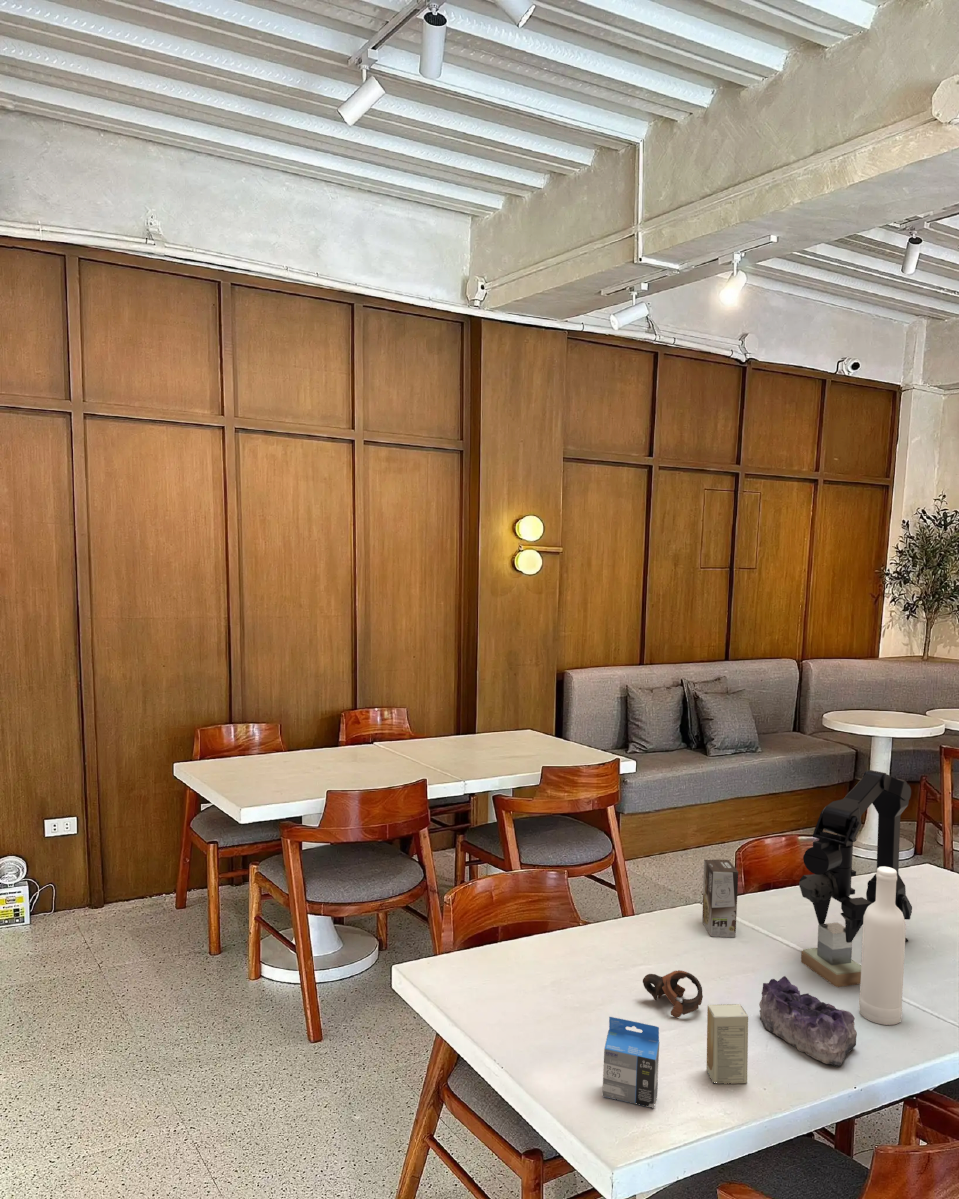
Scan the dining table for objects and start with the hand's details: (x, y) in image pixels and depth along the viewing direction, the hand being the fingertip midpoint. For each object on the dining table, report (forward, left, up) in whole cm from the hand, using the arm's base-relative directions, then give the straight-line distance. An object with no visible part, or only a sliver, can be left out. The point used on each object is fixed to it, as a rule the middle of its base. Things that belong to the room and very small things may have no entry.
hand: (834, 933), depth 196 cm
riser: (0, 0, -9) cm, 9 cm away
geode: (+24, +22, -9) cm, 33 cm away
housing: (0, 0, -6) cm, 6 cm away
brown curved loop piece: (+42, +4, -9) cm, 43 cm away
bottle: (+3, +18, -9) cm, 20 cm away
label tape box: (+64, +30, -9) cm, 71 cm away
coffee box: (+13, -26, -9) cm, 30 cm away
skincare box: (+45, +29, -9) cm, 54 cm away
